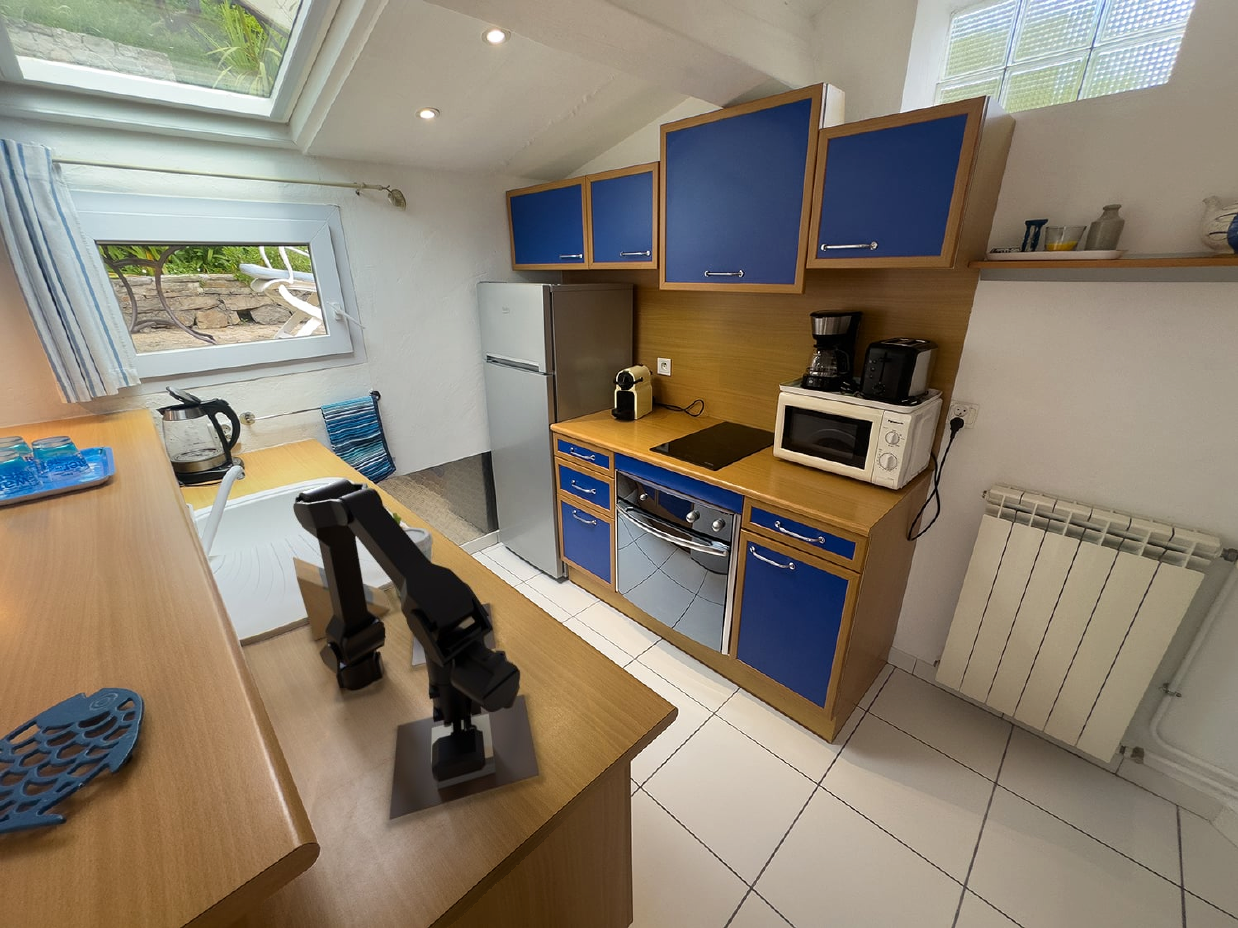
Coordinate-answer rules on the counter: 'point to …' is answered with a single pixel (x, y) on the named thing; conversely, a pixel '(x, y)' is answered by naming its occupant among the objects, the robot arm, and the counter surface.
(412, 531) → the disposable coffee cup
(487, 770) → the grey books
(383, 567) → the robot arm
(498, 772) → the front board
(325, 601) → the sandwich container
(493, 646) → the back board
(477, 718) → the cream book
